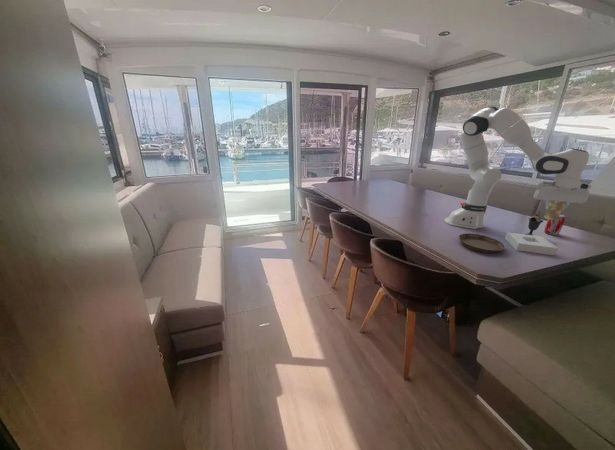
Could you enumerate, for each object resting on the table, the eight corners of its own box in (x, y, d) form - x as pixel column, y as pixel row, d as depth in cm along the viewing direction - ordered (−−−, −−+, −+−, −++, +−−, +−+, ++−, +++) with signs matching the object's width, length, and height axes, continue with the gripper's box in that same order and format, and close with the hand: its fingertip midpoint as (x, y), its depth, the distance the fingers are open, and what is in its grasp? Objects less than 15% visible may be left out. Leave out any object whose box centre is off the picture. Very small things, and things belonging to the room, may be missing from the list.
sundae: (533, 234, 148) (542, 210, 143) (539, 238, 142) (548, 214, 137) (520, 232, 150) (528, 209, 145) (525, 236, 144) (534, 212, 139)
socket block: (516, 250, 127) (519, 243, 126) (504, 238, 141) (507, 232, 140) (555, 255, 122) (558, 248, 121) (539, 242, 136) (541, 236, 135)
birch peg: (547, 219, 126) (555, 201, 123) (543, 217, 130) (550, 199, 126) (557, 220, 125) (565, 201, 122) (552, 218, 129) (560, 199, 125)
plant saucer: (510, 249, 128) (512, 244, 127) (490, 258, 119) (492, 252, 117) (470, 236, 145) (471, 230, 144) (449, 243, 135) (450, 237, 134)
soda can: (561, 236, 146) (569, 217, 142) (548, 235, 147) (555, 216, 143) (553, 231, 152) (560, 213, 148) (540, 230, 154) (547, 212, 149)
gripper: (543, 182, 121) (533, 208, 126) (595, 186, 115) (583, 213, 120) (536, 180, 126) (526, 205, 131) (586, 183, 121) (574, 210, 126)
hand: (554, 209), depth 126 cm, fingers closed on birch peg, 4 cm apart
